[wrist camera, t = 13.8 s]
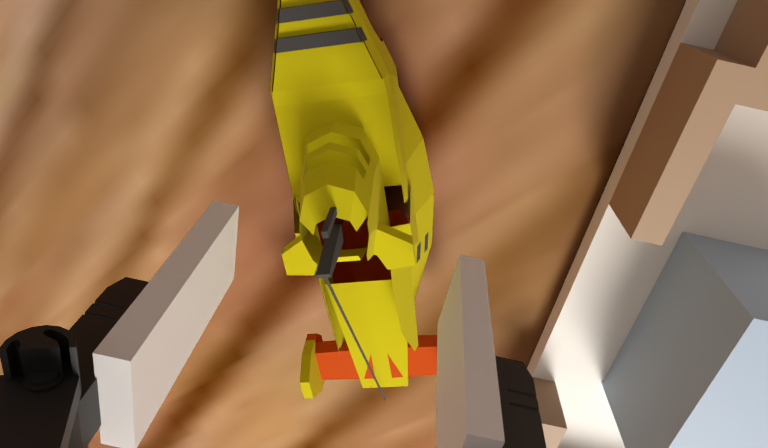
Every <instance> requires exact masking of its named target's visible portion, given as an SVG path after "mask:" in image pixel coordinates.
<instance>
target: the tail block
mask: <svg viewBox="0 0 768 448" xmlns="http://www.w3.org/2000/svg"><path fill="white" fill-rule="evenodd" d="M602 386H603V389H604V391H605V394H606V397H607V399H608V402H609V405H610V408H611V410H612V413H613V416H614V419H615V421H616V424H617V427H618V430H619V432H620V435H621V438H622V440H623V443H624V446H625V448H768V250H765V249H760V248H756V247H751V246H747V245H742V244H737V243H733V242H728V241H724V240H719V239H715V238H710V237H705V236H701V235H696V234H692V233H687V232H682V234H681V236H680V237H679V239H678V241H677V243H676V245H675V247H674V249H673V251H672V252H671V254H670V256H669V258H668V260H667V262H666V264H665V266H664V268H663V269H662V271H661V273H660V275H659V277H658V279H657V281H656V283H655V284H654V286H653V288H652V290H651V292H650V294H649V296H648V298H647V300H646V301H645V303H644V305H643V307H642V309H641V311H640V313H639V315H638V317H637V318H636V320H635V322H634V324H633V326H632V328H631V330H630V332H629V333H628V335H627V337H626V339H625V341H624V343H623V345H622V347H621V349H620V350H619V352H618V354H617V356H616V358H615V360H614V362H613V364H612V366H611V367H610V369H609V371H608V373H607V375H606V377H605V379H604V381H603V382H602Z"/></svg>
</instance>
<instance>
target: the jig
mask: <svg viewBox="0 0 768 448" xmlns="http://www.w3.org/2000/svg"><path fill="white" fill-rule="evenodd" d="M682 232H687V233H692V234H696V235H701V236H705V237H710V238H715V239H719V240H724V241H728V242H733V243H737V244H742V245H747V246H751V247H756V248H760V249H765V250H768V0H686V3H685V5H684V7H683V10H682V12H681V14H680V17H679V19H678V21H677V23H676V26H675V28H674V30H673V33H672V35H671V37H670V40H669V42H668V44H667V46H666V49H665V51H664V53H663V56H662V58H661V60H660V63H659V65H658V67H657V70H656V72H655V74H654V76H653V79H652V81H651V83H650V86H649V88H648V90H647V93H646V95H645V97H644V99H643V102H642V104H641V106H640V109H639V111H638V113H637V116H636V118H635V120H634V123H633V125H632V127H631V129H630V132H629V134H628V136H627V139H626V141H625V143H624V146H623V148H622V150H621V153H620V155H619V157H618V159H617V162H616V164H615V166H614V169H613V171H612V173H611V176H610V178H609V180H608V182H607V185H606V187H605V189H604V192H603V194H602V196H601V199H600V201H599V203H598V206H597V208H596V210H595V212H594V215H593V217H592V219H591V222H590V224H589V226H588V229H587V231H586V233H585V235H584V238H583V240H582V242H581V245H580V247H579V249H578V252H577V254H576V256H575V259H574V261H573V263H572V265H571V268H570V270H569V272H568V275H567V277H566V279H565V282H564V284H563V286H562V289H561V291H560V293H559V295H558V298H557V300H556V302H555V305H554V307H553V309H552V312H551V314H550V316H549V318H548V321H547V323H546V325H545V328H544V330H543V332H542V335H541V337H540V339H539V342H538V344H537V346H536V348H535V351H534V353H533V355H532V358H531V360H530V362H529V365H528V367H527V369H528V371H529V373H530V374H531V376H532V377H533V379H534V384H535V390H536V398H537V400H538V406H539V412H540V416H541V421H542V427H543V432H544V437H545V443H546V448H625V446H624V443H623V440H622V438H621V435H620V432H619V430H618V427H617V424H616V421H615V419H614V416H613V413H612V410H611V408H610V405H609V402H608V399H607V397H606V394H605V391H604V389H603V386H602V382H603V381H604V379H605V377H606V375H607V373H608V371H609V369H610V367H611V366H612V364H613V362H614V360H615V358H616V356H617V354H618V352H619V350H620V349H621V347H622V345H623V343H624V341H625V339H626V337H627V335H628V333H629V332H630V330H631V328H632V326H633V324H634V322H635V320H636V318H637V317H638V315H639V313H640V311H641V309H642V307H643V305H644V303H645V301H646V300H647V298H648V296H649V294H650V292H651V290H652V288H653V286H654V284H655V283H656V281H657V279H658V277H659V275H660V273H661V271H662V269H663V268H664V266H665V264H666V262H667V260H668V258H669V256H670V254H671V252H672V251H673V249H674V247H675V245H676V243H677V241H678V239H679V237H680V236H681V234H682Z"/></svg>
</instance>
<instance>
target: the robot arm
mask: <svg viewBox="0 0 768 448" xmlns="http://www.w3.org/2000/svg"><path fill="white" fill-rule="evenodd" d="M238 214H239V206H238V205H233V204H229V203H224V202H220V201H215V200H214V201H213V202H212V204H211V205H210V206H209V207H208V209H207V210H206V211H205V212H204V214H203V215H202V216H201V217H200V219H199V220H198V221H197V222H196V224H195V225H194V226H193V228H192V229H191V230H190V231H189V233H188V234H187V235H186V236H185V238H184V239H183V240H182V241H181V243H180V244H179V245H178V246H177V248H176V249H175V250H174V251H173V253H172V254H171V255H170V256H169V258H168V259H167V260H166V261H165V263H164V264H163V265H162V266H161V268H160V269H159V270H158V271H157V273H156V274H155V275H154V276H153V278H152V279H151V280H150V281H149V282H146V281H141V280H137V279H132V278H128V277H125V278H124V279H122V280H120V281H118V282H116V283H114V284H113V285H111V286H109V287H107V288H106V289H105V291H104V292H103V293H102V294H101V295H100V296H99V297H98V298H97V299H96V301H95V303H94V304H92V305H91V306H90V307H89V308H88V310H87V311H86V312H85V315H82V316H81V317H80V318H79V320H78V321H77V322H76V323H75V324H74V325H73V326H72V327H71V328H70V330H67V329H64V328H62V327H59V326H50V325H44V326H37V327H31V328H28V329H25V330H22V331H20V332H17V333H16V334H14V335H13V336H11V337H10V338H8V339H7V340H5V342H4V343H3V344H2V346H1V347H0V359H1V363H2V368H3V373H4V375H0V448H88V444H89V442H90V441H91V439H92V438H93V436H94V435H95V433H96V432H97V430H98V429H99V427H100V437H101V444H106V445H111V446H115V447H120V448H137V446H138V445H139V443H140V441H141V440H142V438H143V436H144V434H145V433H146V431H147V429H148V427H149V426H150V424H151V422H152V420H153V419H154V417H155V415H156V413H157V412H158V410H159V408H160V406H161V405H162V403H163V401H164V399H165V398H166V396H167V394H168V392H169V391H170V389H171V387H172V385H173V384H174V382H175V380H176V378H177V377H178V375H179V373H180V372H181V370H182V368H183V366H184V365H185V363H186V361H187V359H188V358H189V356H190V354H191V352H192V351H193V349H194V347H195V345H196V344H197V342H198V340H199V338H200V337H201V335H202V333H203V331H204V330H205V328H206V326H207V324H208V323H209V321H210V319H211V317H212V316H213V314H214V312H215V311H216V309H217V307H218V305H219V304H220V302H221V300H222V298H223V297H224V295H225V293H226V291H227V290H228V288H229V286H230V284H231V283H232V281H233V279H234V269H235V256H236V242H237V228H238ZM436 448H546V443H545V437H544V432H543V427H542V421H541V416H540V412H539V406H538V400H537V398H536V390H535V384H534V379H533V377H532V376H531V374H530V373H529V371H528V369H527V368H526V366H525V365H524V363H523V362H520V361H515V360H510V359H506V358H501V357H497V356H495V349H494V340H493V332H492V323H491V314H490V305H489V296H488V288H487V279H486V270H485V261H484V260H483V259H479V258H474V257H470V256H465V255H459V258H458V261H457V264H456V267H455V271H454V274H453V277H452V280H451V283H450V286H449V289H448V292H447V296H446V299H445V302H444V305H443V308H442V311H441V314H440V317H439V320H438V334H437V392H436Z"/></svg>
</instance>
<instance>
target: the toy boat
mask: <svg viewBox="0 0 768 448" xmlns="http://www.w3.org/2000/svg"><path fill="white" fill-rule="evenodd" d="M372 58H373V60H372ZM270 91H271V96H272V100H273V105H274V110H275V114H276V119H277V124H278V128H279V133H280V138H281V142H282V147H283V152H284V156H285V161H286V166H287V170H288V175H289V179H290V184H291V189H292V194H293V206H294V225H295V235H296V238H295V239H294V240H292V241H291V242H290V243H288V244H287V245H286V246H284V248H283V252H282V258H283V262H284V265H285V269H286V273H287V275H314V274H315V271H316V276H317V277H318V280H319V283H320V287H321V290H322V294H323V298H324V301H325V305H326V308H327V312H328V315H329V319H330V322H331V326H332V330H333V333H334V337H335V341H324V342H323V340H322V336H321V335H319V334H307V338H306V342H305V346H304V349H303V353H302V363H301V375H300V385H301V389H302V392H303V395H304V398H314V397H315V396H316V395H317V394H318V393H319V392H320V391H321V390H322V387H323V383H324V380H332V379H360V381H361V384H362V386H363V388H373V387H378V388H379V390H380V392H381V394H382V396H383V398H384V400H385V395H384V393H383V391H382V389H381V387H395V386H408V377H411V376H424V375H437V335H417V325H416V314H415V304H414V301H415V297H416V294H417V291H418V287H419V284H420V281H421V277H422V274H423V271H424V267H425V264H426V261H427V257H428V254H429V251H430V247H431V244H432V230H433V210H434V188H433V183H432V178H431V173H430V168H429V163H428V159H427V154H426V149H425V144H424V139H423V136H422V134H421V132H420V130H419V128H418V126H417V123H416V121H415V119H414V117H413V115H412V113H411V111H410V109H409V107H408V105H407V103H406V101H405V99H404V96H403V94H402V92H401V90H400V88H399V86H398V77H397V70H396V65H395V63H394V61H393V59H392V57H391V55H390V53H389V51H388V49H387V47H386V45H385V43H384V41H383V40H382V39H380V38H379V37H378V36H377V34H376V33H375V31H374V30H373V28H372V26H371V24H370V22H369V19H368V17H367V15H366V13H365V11H364V9H363V7H362V5H361V3H360V1H359V0H278V3H277V14H276V25H275V36H274V47H273V59H272V70H271V81H270ZM395 185H402V191H403V198H404V203H405V202H407V206H408V211H409V215H410V223H408V221H407V219H406V218H405V216H404V215H403V213H402V212H401V210H389V211H388V209H387V203H386V196H385V190H384V187H385V186H395ZM336 218H340V219H343V220H344V221H343V223H342V226H341V224H334V222H335V219H336Z"/></svg>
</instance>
